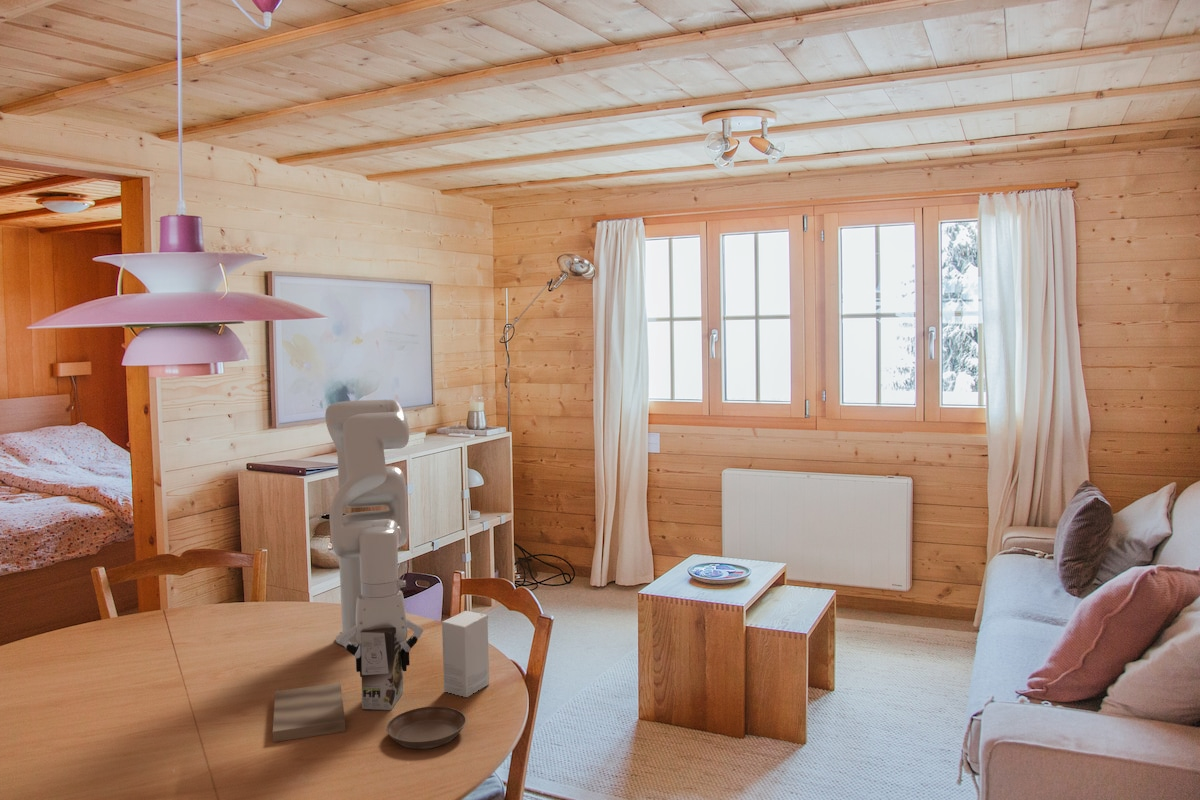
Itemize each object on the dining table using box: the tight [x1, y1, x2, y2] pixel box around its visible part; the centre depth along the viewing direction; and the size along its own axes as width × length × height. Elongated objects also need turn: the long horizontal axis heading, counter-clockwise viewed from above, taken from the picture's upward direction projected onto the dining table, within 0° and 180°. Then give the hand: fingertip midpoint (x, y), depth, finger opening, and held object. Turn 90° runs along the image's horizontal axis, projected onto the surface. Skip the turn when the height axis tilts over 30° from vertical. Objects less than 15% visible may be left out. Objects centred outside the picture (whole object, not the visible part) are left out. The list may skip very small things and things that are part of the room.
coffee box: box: [361, 627, 404, 711], centre depth 186 cm, size 9×6×16 cm
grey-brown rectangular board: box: [272, 682, 346, 743], centre depth 180 cm, size 20×13×2 cm, turn 18°
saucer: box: [386, 705, 467, 750], centre depth 171 cm, size 15×15×3 cm
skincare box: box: [441, 610, 490, 698], centre depth 192 cm, size 8×7×16 cm
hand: (383, 671), depth 186 cm, fingers closed on coffee box, 8 cm apart
